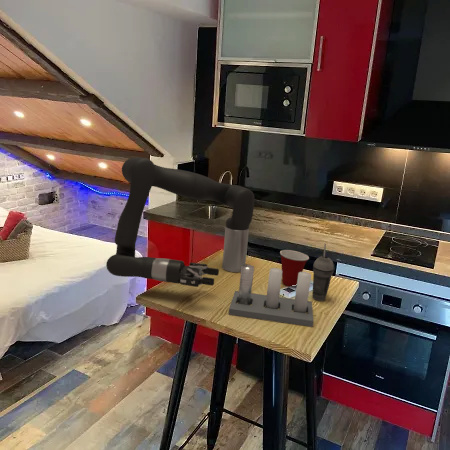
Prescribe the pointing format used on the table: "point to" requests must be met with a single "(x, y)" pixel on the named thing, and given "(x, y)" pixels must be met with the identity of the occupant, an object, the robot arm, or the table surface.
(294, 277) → the plastic cup
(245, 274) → the steel pin
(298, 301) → the pin board
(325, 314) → the table surface
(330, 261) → the beverage cup
